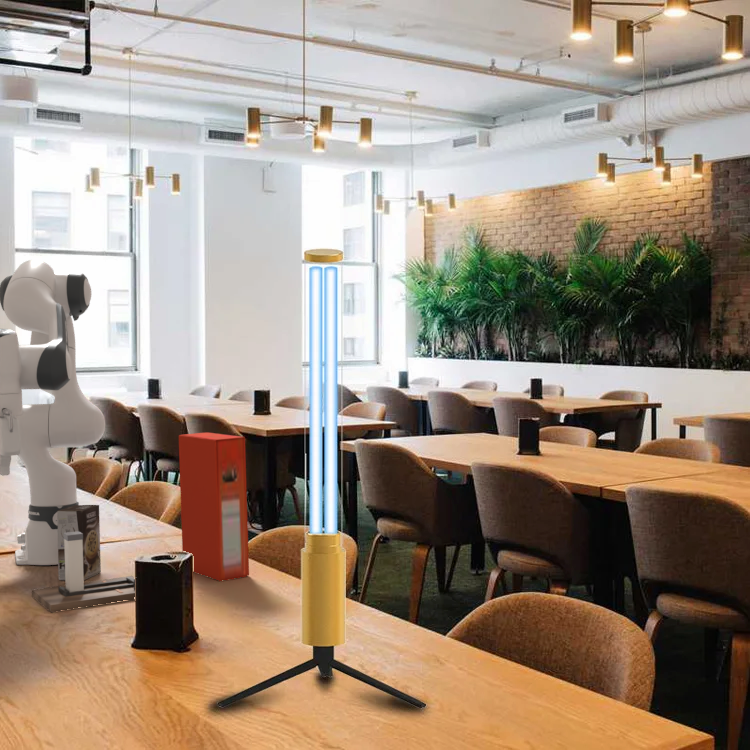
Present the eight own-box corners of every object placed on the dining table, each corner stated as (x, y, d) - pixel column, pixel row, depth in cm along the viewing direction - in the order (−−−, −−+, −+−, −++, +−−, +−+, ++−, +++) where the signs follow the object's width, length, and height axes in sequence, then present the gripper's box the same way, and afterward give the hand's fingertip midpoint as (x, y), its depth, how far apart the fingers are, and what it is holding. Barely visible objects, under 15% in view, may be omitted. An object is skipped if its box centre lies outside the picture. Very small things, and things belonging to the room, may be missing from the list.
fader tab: (65, 590, 221) (63, 533, 221) (80, 588, 223) (78, 531, 222) (69, 593, 219) (67, 535, 218) (84, 591, 220) (82, 533, 220)
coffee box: (83, 581, 237) (81, 510, 237) (57, 580, 239) (55, 510, 238) (102, 572, 246) (100, 504, 246) (76, 571, 247) (75, 503, 247)
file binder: (218, 581, 234) (214, 439, 233) (181, 569, 248) (178, 434, 247) (249, 576, 239) (246, 436, 238) (212, 564, 253) (208, 432, 252)
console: (31, 596, 224) (31, 580, 224) (132, 582, 235) (131, 566, 235) (51, 612, 210) (50, 595, 210) (156, 596, 222) (156, 580, 222)
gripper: (27, 409, 210) (29, 477, 210) (5, 404, 227) (7, 467, 228) (-6, 410, 206) (-4, 480, 207) (-26, 405, 224) (-24, 470, 224)
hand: (2, 473), depth 217 cm, fingers open, 3 cm apart
